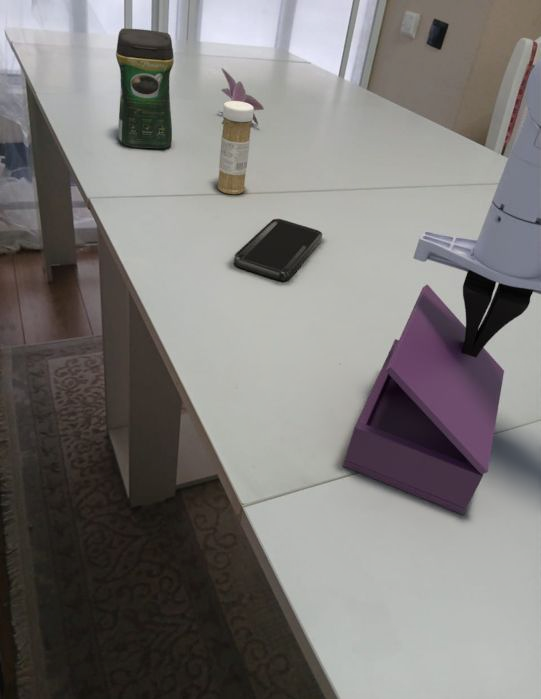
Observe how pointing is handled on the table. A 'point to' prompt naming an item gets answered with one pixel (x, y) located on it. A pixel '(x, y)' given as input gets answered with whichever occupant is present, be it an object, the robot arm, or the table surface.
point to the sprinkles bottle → (234, 146)
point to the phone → (278, 249)
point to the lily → (240, 94)
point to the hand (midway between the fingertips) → (470, 349)
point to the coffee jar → (145, 88)
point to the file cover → (448, 378)
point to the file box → (409, 448)
